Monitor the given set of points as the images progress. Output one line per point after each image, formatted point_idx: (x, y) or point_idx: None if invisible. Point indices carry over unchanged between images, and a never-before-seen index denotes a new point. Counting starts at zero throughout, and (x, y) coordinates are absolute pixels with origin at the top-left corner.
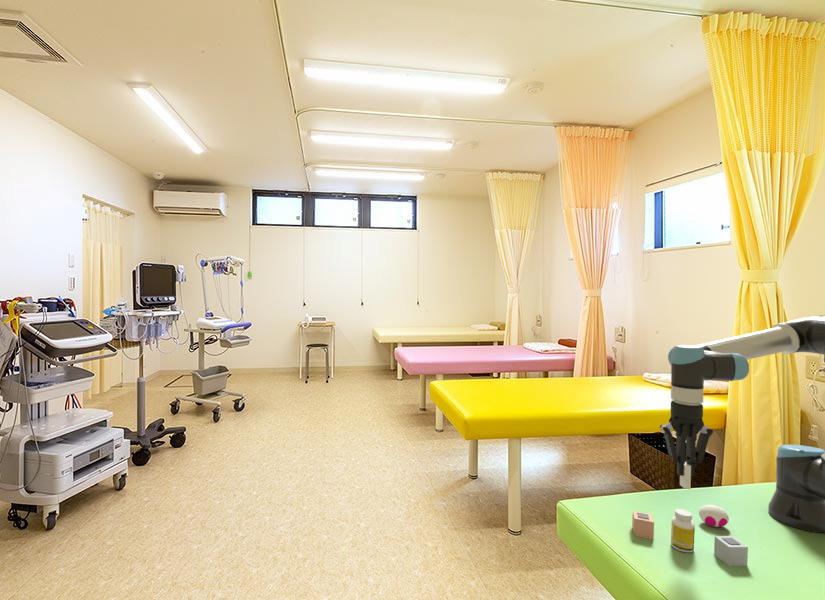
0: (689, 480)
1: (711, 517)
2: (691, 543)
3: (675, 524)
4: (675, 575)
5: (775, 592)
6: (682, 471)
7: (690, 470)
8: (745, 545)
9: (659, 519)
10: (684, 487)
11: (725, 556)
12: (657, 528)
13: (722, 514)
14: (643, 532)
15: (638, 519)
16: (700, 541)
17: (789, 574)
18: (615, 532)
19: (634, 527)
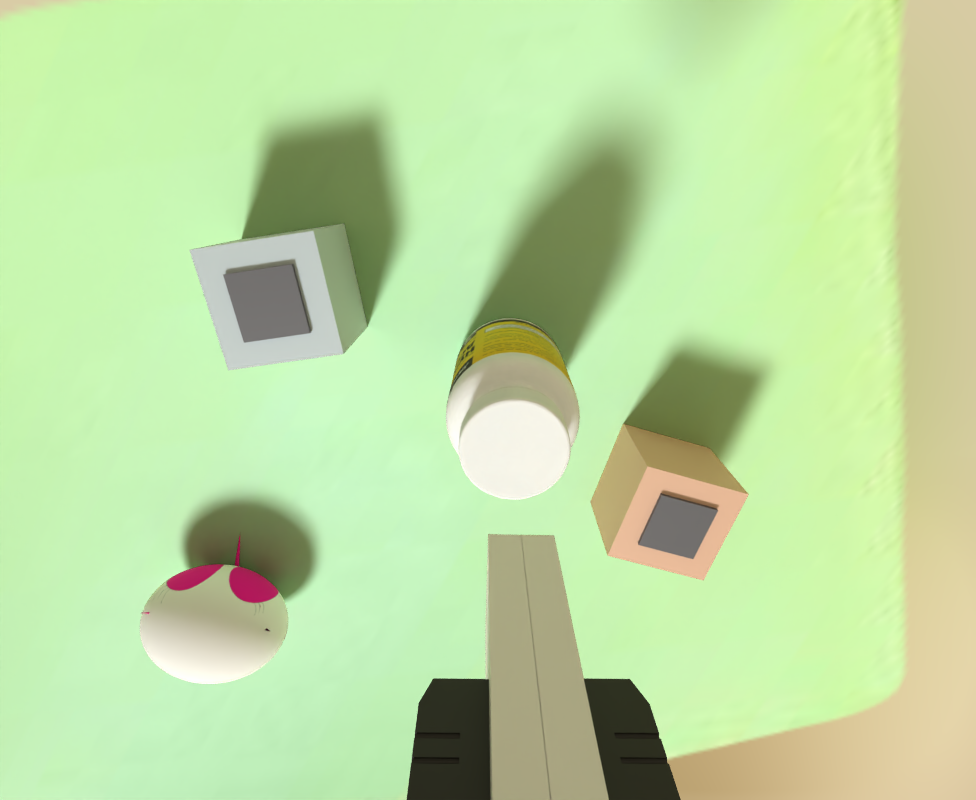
0: (505, 609)
1: (241, 594)
2: (487, 332)
3: (575, 395)
4: (698, 84)
5: None
6: (607, 740)
7: (499, 746)
8: (196, 267)
9: None
10: (554, 550)
11: (340, 251)
12: (545, 524)
13: (172, 609)
14: (677, 447)
15: (727, 487)
16: (379, 436)
17: (50, 187)
18: (796, 462)
19: (725, 467)
